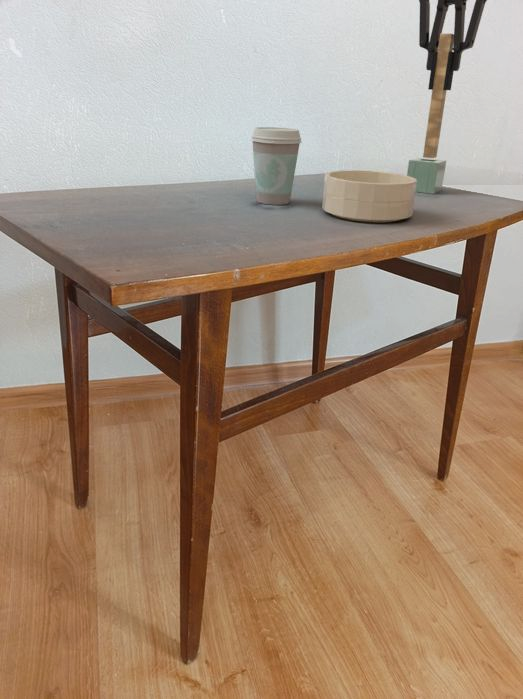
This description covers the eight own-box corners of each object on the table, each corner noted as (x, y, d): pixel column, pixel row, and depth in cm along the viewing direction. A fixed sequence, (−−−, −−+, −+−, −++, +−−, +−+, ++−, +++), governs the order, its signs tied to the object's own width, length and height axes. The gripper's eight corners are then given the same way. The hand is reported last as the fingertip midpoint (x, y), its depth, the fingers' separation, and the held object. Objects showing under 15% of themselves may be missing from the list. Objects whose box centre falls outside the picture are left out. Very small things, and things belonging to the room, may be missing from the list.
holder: (441, 190, 123) (446, 160, 121) (433, 194, 118) (438, 162, 116) (413, 187, 126) (417, 157, 123) (404, 190, 121) (408, 159, 118)
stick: (436, 157, 119) (455, 34, 110) (433, 158, 118) (452, 33, 109) (425, 156, 120) (443, 34, 111) (422, 157, 119) (440, 33, 110)
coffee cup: (238, 200, 103) (240, 127, 98) (271, 195, 109) (274, 126, 104) (275, 208, 98) (279, 131, 93) (307, 203, 104) (312, 130, 99)
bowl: (422, 213, 99) (428, 177, 97) (394, 228, 88) (399, 187, 85) (343, 202, 106) (346, 167, 103) (307, 215, 94) (310, 176, 92)
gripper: (411, -57, 105) (395, 88, 114) (501, -64, 98) (475, 91, 108) (424, -49, 111) (407, 88, 120) (509, -55, 104) (484, 91, 114)
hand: (439, 89), depth 114 cm, fingers closed on stick, 2 cm apart
